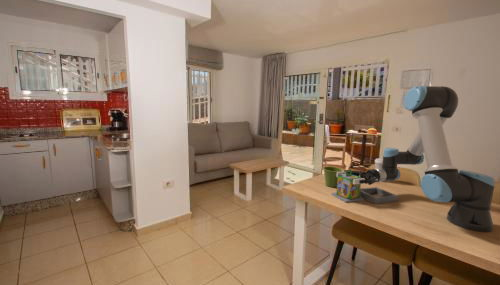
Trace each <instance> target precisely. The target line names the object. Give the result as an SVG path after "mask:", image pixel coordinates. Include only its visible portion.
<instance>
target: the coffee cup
mask: <svg viewBox="0 0 500 285" xmlns="http://www.w3.org/2000/svg"><path fill="white" fill-rule="evenodd" d="M382 164H383V157H382V158H380V157H379V158H375V160H374V169H382Z"/></svg>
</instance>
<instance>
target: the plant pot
mask: <svg viewBox="0 0 500 285" xmlns="http://www.w3.org/2000/svg"><path fill="white" fill-rule="evenodd" d="M322 169H323V172H324V182H325V186H327V187H331V188H337V180H338V177H336V176H337V172H343V169H342V168H340V167H336V166H324V167H322Z"/></svg>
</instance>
